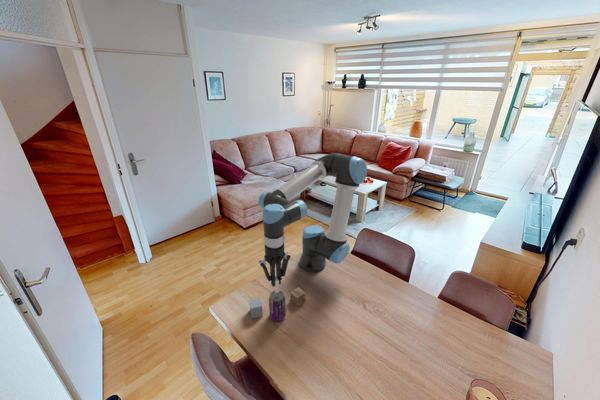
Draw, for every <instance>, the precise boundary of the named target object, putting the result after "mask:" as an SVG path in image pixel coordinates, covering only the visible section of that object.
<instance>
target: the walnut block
mask: <svg viewBox="0 0 600 400" xmlns="http://www.w3.org/2000/svg"><path fill="white" fill-rule="evenodd" d="M289 294H290V298H289V299H290V301H291V302H292V303H293V304H294V305H295V306H297V307H298V306H300V305H301V304H303V303H304V302H305V301H306V292H305V291H303V290H302V289H301V288H300V287H297V288H294V289H293V290H292V291H290V293H289Z"/></svg>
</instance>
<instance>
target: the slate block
mask: <svg viewBox="0 0 600 400" xmlns="http://www.w3.org/2000/svg"><path fill="white" fill-rule="evenodd" d="M248 304H249V310H250V317H251V319H255V318H260V317H264V316H263V315H264V314H263V305H262V304H263V303H262V301H261V297H257V298H253V299H249V300H248Z"/></svg>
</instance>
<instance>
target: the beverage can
mask: <svg viewBox="0 0 600 400" xmlns="http://www.w3.org/2000/svg"><path fill="white" fill-rule="evenodd" d="M286 306H287V305H286V296H285V294H284V292H283V291H282V290H279V292H278V293H275V291H274V290H273V291H271V292H270V294H269V297H268V308H269V309H268V310H269V318H270V320H272V321H274V322H280V321H281V322H282V321H283V320H284V319H285V318H286V315H287V311H286Z"/></svg>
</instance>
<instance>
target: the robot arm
mask: <svg viewBox="0 0 600 400" xmlns="http://www.w3.org/2000/svg"><path fill="white" fill-rule="evenodd" d="M367 176H368V166H367V163H366V161H365V160H364V159H363V158H361V157H358V156H354V155H353V156H352V155H347V154H343V153H338V152H337V153H336V152H331V153H329V154H326V155H323V156H320V157H318V158H317V159H315V160H314V161H312V162H311V165H310V166H309V167H307V168H306V169H305V170H303V171H301V172H300V173H298V174H297V175H296V176H294V177H293V178H291V179H290V180H288V181H286V182H285V183H283V184H282V185H281V186H279V187H277V188H276V189H274V190H273V191H271V192H269V191H264V192H262V193H261V194H260V195H259V197H258V202H257V203H258V205H259V207H260V208H261V209H262V223H263V224H262V225H263V226H262V227H263V239H264V257H263V259H262V260H261V259H260V260H259V261H258V263H259V265H260V267H262V270H263V272H264V276H265V278H266V280H267V281H268V282H270V283H271V286H272V288H273V291H275V293H278V292H279V291H280V285H281V284H282V279H283V278H282V277H285V276H286V274H287V268H288V264H289V261H290V259H291V255H290V253H289V252H285V228H286V227H287V226H289V225H291V224H293V223H296V222H298V221H300V220H302V219H303V218H305V217H306V216H307V214H308V206H307V204H306V203H305V202H304V200H302V199H301V200H300V199H299V200H298V199H297V200H294V201H291V200H293V199H294V198H296V197H297V196H298V195H299V194H301V193H302V192H304V191H305V190H306V189H308V188H310V187H311V186H312V185H314V184H315V183H316V182H317V181H319V180H320V179H321V180H322V179H325V178H326V177H334V178H335V180H334V183H335V184H336V191H335V196H334V197H335V198H334V201H333V207H332V209H331V210H332V212H331V216H330V221H329V226H328V230H327V231H325V228H324V227H323V226H320V225H309V226H307V227H305V228H304V229H303V230H302V237H301V238H302V252H301V255H300V257H299V261H298V262H299V267H300V268H301V269H302V270H303V271H305V272H306V271H307V272H309V273H315V272H316V273H317V272H321V271H322V270H324V269H325V268H326V265H327V264H326V261H329V262H331V263H334V264H337V265H338V264H341V263H342V262H343V261H344V260H346V258H347V257H348V255H349V252H350V249H351V248H350V247H351V246H350V244H348V242H347V241H348V237H347V236H346V232H347V227H348V223H349V217H350V213H351V210H352V204H353V200H354V194H355V190H356V189H357V188H359V187H360V185H361V184H363V183H364V182H365V179H366V178H367ZM267 263H268V264H269V270H268V268H267ZM269 271H270V272H269Z"/></svg>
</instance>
